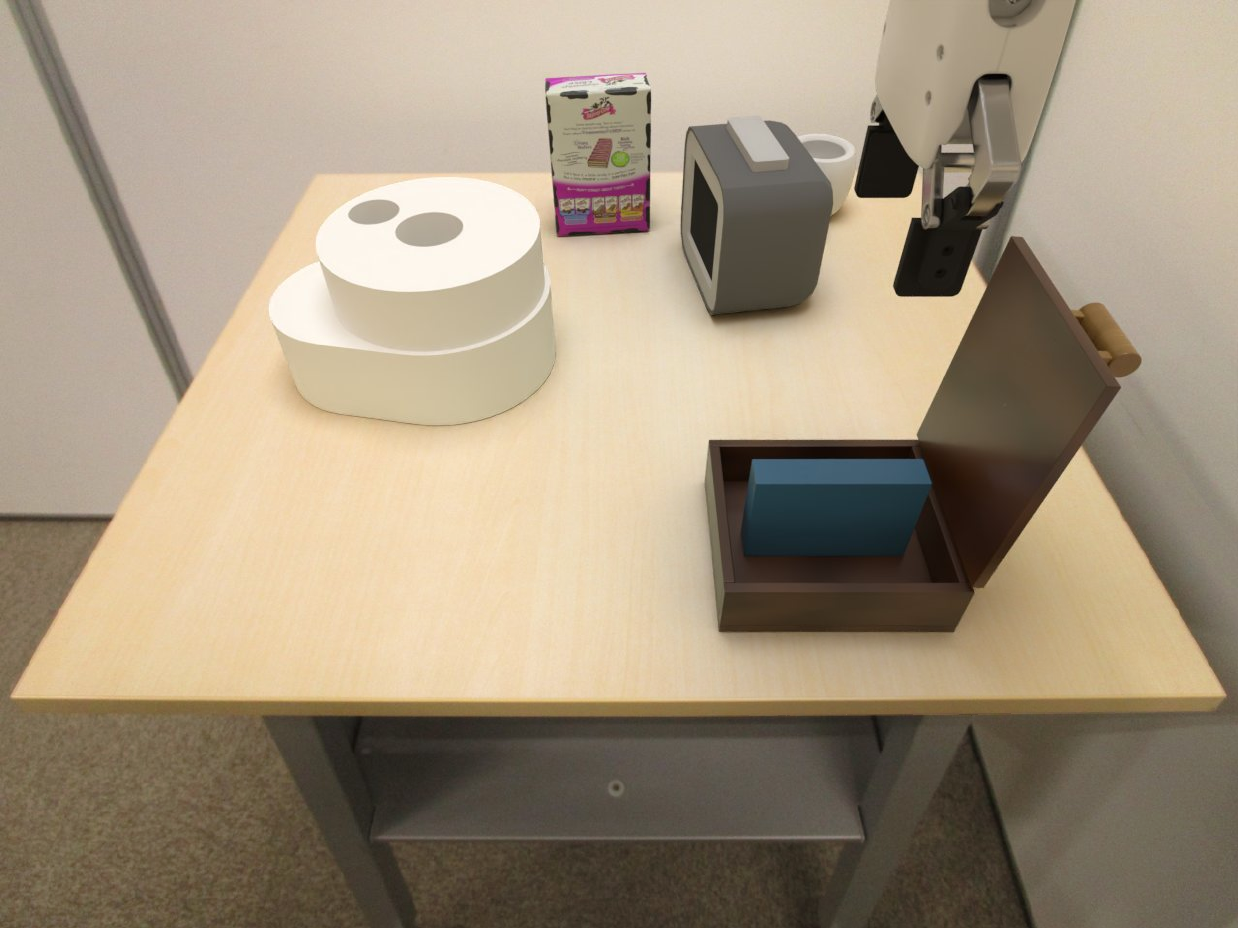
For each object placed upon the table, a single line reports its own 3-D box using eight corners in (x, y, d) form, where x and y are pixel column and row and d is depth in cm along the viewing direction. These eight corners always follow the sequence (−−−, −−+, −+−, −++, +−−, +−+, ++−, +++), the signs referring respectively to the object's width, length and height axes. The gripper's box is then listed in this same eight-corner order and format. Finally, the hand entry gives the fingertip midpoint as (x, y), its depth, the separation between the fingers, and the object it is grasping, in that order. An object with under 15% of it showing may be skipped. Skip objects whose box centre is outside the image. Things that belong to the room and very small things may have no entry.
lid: (1106, 386, 41) (1205, 393, 41) (1010, 235, 51) (1090, 242, 51) (971, 588, 53) (1048, 592, 54) (916, 434, 64) (980, 438, 64)
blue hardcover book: (743, 556, 61) (755, 483, 55) (740, 531, 63) (752, 458, 57) (903, 556, 61) (932, 483, 55) (896, 531, 63) (923, 458, 57)
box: (718, 631, 57) (724, 592, 54) (704, 480, 67) (708, 439, 64) (954, 632, 57) (975, 592, 54) (904, 480, 67) (919, 439, 64)
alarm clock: (679, 242, 94) (686, 106, 82) (773, 234, 95) (793, 98, 84) (713, 326, 82) (728, 180, 71) (820, 314, 84) (851, 170, 72)
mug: (773, 191, 102) (782, 129, 96) (841, 193, 102) (854, 131, 96) (780, 241, 94) (790, 176, 88) (854, 243, 93) (869, 179, 88)
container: (306, 311, 85) (264, 188, 75) (546, 289, 87) (535, 167, 77) (281, 443, 71) (226, 313, 61) (566, 412, 73) (557, 282, 64)
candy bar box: (645, 211, 99) (648, 70, 87) (650, 232, 95) (654, 88, 84) (553, 216, 98) (543, 75, 86) (555, 237, 95) (545, 93, 83)
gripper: (1225, -102, 25) (1026, 340, 38) (1031, -193, 37) (929, 165, 49) (982, -101, 25) (864, 340, 38) (867, -192, 37) (806, 165, 50)
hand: (901, 240), depth 44 cm, fingers open, 9 cm apart
